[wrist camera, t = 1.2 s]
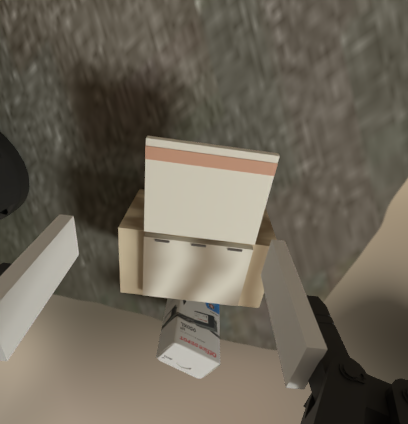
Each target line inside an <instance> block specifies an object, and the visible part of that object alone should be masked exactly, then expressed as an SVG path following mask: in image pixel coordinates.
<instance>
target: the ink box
mask: <svg viewBox="0 0 408 424" xmlns="http://www.w3.org/2000/svg"><path fill="white" fill-rule="evenodd" d="M156 358H158V360H159V361H161V362H164V363H166V364H168V365H170V366H173V367H174V368H176V369H178V370H181V371H183V372H185V373H187V374H189V375H191V376H194V377H196V378H203V377H205V376H206V375H207V374H209V373H210V372H211V371H213V370H214V369H215V368H217V367H218V366H220V333H219V304H215V303H206V302H197V301H189V300H180V299H171V298H167V303H166V308H165V314H164V319H163V325H162V330H161V334H160V339H159V345H158V350H157V355H156Z"/></svg>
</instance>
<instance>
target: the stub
mask: <svg viewBox="0 0 408 424" xmlns="http://www.w3.org/2000/svg"><path fill="white" fill-rule="evenodd" d="M278 160H279V155H278V153H271V152H264V151H257V150H249V149H242V148H235V147H227V146H220V145H213V144H206V143H198V142H191V141H184V140H176V139H169V138H162V137H154V136H147V137H146V146H145V204H144V231H146V232H154V233H162V234H170V235H178V236H186V237H195V238H203V239H211V240H219V241H227V242H235V243H243V244H252V245H255V242H256V239H257V235H258V232H259V228H260V224H261V221H262V217H263V214H264V210H265V206H266V203H267V199H268V196H269V192H270V189H271V185H272V181H273V178H274V175H275V172H276V168H277V165H278V164H277V163H278Z"/></svg>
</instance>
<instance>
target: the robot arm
mask: <svg viewBox="0 0 408 424" xmlns="http://www.w3.org/2000/svg"><path fill="white" fill-rule="evenodd" d="M28 191H29V178H28V173H27V169H26V167H25V164H24V162H23V160H22V158H21V156H20V155H19V153H18V152H17V150H16V149H15V147H14V146H13V145H12V144H11V143H10V142H9V140H8V139H7V138H6V137H5V136H3V135H2V134H1V133H0V219H3V218H5V217H7V216H8V215H10V214H11V213H12V212H14V211H15V210H16V209H18V208H19V207H20V206H21V205H22V204H23V203H24V201H25V199H26V197H27V195H28ZM78 255H79V251H78V244H77V237H76V229H75V222H74V216H69V215H61V214H60V215H59V216H58V217H57V218H56V219H55V220H54V221H53V222H52V223H51V224H50V225H49V226H48V227H47V228H46V229H45V230H44V231H43V232H42V233H41V234H40V235H39V236H38V237H37V239H36V240H35V241H34V242H33V243H32V244H31V245H30V246H29V247H28V248H27V249H26V250H25V251H24V252H23V253H22V254H21V255H20V256H19V257H18V258H17V259H16V260H15V261H14V262H13V263H12V264H10V263H2V264H0V361H8V360H9V358H10V357H11V355H12V354H13V352H14V350H15V349H16V347H17V346H18V345H19V343H20V342H21V340H22V339H23V337H24V336H25V334H26V333H27V331H28V330H29V328H30V327H31V325H32V324H33V322H34V321H35V319H36V318H37V316H38V315H39V313H40V312H41V310H42V309H43V307H44V306H45V304H46V303H47V301H48V300H49V298H50V297H51V295H52V294H53V292H54V291H55V289H56V288H57V286H58V285H59V283H60V282H61V280H62V279H63V277H64V276H65V275H66V273H67V272H68V270H69V269H70V267H71V266H72V264H73V263H74V261H75V260H76V258H77V257H78ZM261 279H262V283H263V287H264V292H265V296H266V301H267V305H268V310H269V314H270V319H271V323H272V328H273V332H274V336H275V341H276V345H277V350H278V354H279V359H280V363H281V368H282V372H283V376H284V381H285V385H286V388H295V389H305V387H306V385H307V384H308V382H309V384H310V387H311V391H312V393H311V395H310V396H309V398H308V400H307V401H306V403H305V405H304V407H305V408H306V409H305V412H304V415H303V418H302V421H301V424H408V380H405V379H397V380H395V381H394V382H393V383H392V384H389V383H387V382H384V381H382V380H380V379H377V378H375V377H372V376H370V375H368V374H366V372H365V370H364V369H363V368H362V367H361V366H360V364H358V363H357V362H356V361H355V360H353V359H351V358H350V357H349V355H348V353H347V351H346V348H345V346H344V344H343V342H342V340H341V337H340V335H339V333H338V331H337V329H336V327H335V325H334V322H333V320H332V318H331V317H330V314H329V311H328V309H327V307H326V305H325V304H324V303H323V302H322V301H321V300H320V299H319V297H316V296H307V295H306V293H305V291H304V288H303V286H302V283H301V281H300V278H299V276H298V273H297V271H296V268H295V266H294V263H293V261H292V258H291V256H290V253H289V251H288V248H287V245H286V243H285V241H281V240H273V239H272V240H271V243H270V246H269V250H268V253H267V256H266V259H265V262H264V266H263V269H262V272H261Z"/></svg>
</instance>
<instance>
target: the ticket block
mask: <svg viewBox="0 0 408 424" xmlns="http://www.w3.org/2000/svg"><path fill="white" fill-rule="evenodd" d="M144 204H145V189H139V191H138V193H137V195H136V196H135V198H134V200H133V202H132V204H131V205H130V207H129V209H128V211H127V213H126V214H125V216H124V218H123V220H122V222H121V223H120V225H119V227H118V238H119V264H120V291H121V292H123V293H132V294H141V295H144V296H153V297H162V298H171V299H180V300H189V301H197V302H206V303H215V304H224V305H233V306H246V307H255V308H259V305H260V303H261V300H262V297H263V294H264V287H263V283H262V279H261V272H262V269H263V266H264V262H265V259H266V256H267V253H268V250H269V246H270V243H271V240H272V239H273V240H276V237H275V234H274V231H273V228H272V225H271V222H270V220H269V217H268V214H267V211H266V208H265V210H264V214H263V217H262V221H261V224H260V228H259V232H258V235H257V239H256V242H255V245H252V244H243V243H235V242H227V241H219V240H211V239H203V238H195V237H186V236H178V235H170V234H162V233H154V232H146V231H144Z"/></svg>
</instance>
